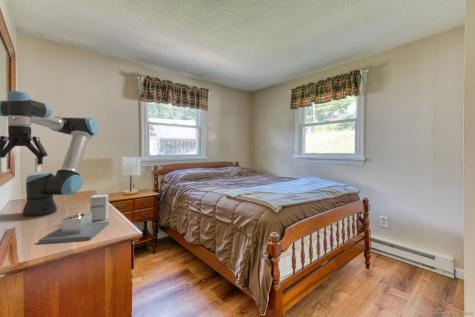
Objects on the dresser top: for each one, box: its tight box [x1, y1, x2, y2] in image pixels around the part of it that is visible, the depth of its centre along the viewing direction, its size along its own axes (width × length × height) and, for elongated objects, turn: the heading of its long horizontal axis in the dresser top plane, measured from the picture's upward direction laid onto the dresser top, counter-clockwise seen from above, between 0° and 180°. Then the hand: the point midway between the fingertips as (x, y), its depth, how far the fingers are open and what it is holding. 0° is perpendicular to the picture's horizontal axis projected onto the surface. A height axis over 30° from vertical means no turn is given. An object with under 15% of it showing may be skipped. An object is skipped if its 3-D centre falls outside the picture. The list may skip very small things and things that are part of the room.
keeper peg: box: [74, 212, 81, 218], centre depth 96 cm, size 2×2×7 cm
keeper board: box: [38, 220, 109, 244], centre depth 97 cm, size 20×18×2 cm
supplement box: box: [89, 194, 109, 222], centre depth 117 cm, size 7×7×13 cm
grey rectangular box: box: [61, 212, 93, 234], centre depth 97 cm, size 10×7×6 cm
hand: (20, 171), depth 101 cm, fingers open, 13 cm apart
